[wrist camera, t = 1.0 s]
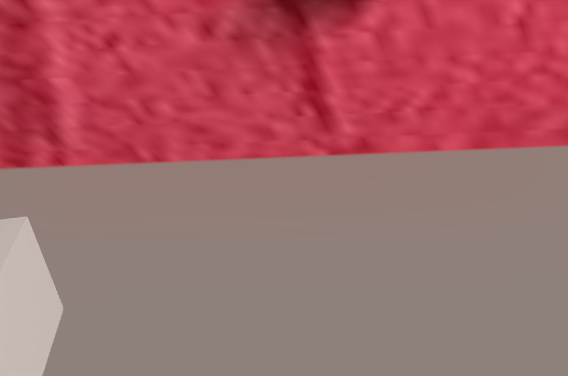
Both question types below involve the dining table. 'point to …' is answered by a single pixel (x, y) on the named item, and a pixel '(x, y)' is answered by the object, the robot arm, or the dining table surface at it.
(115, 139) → the dining table surface
